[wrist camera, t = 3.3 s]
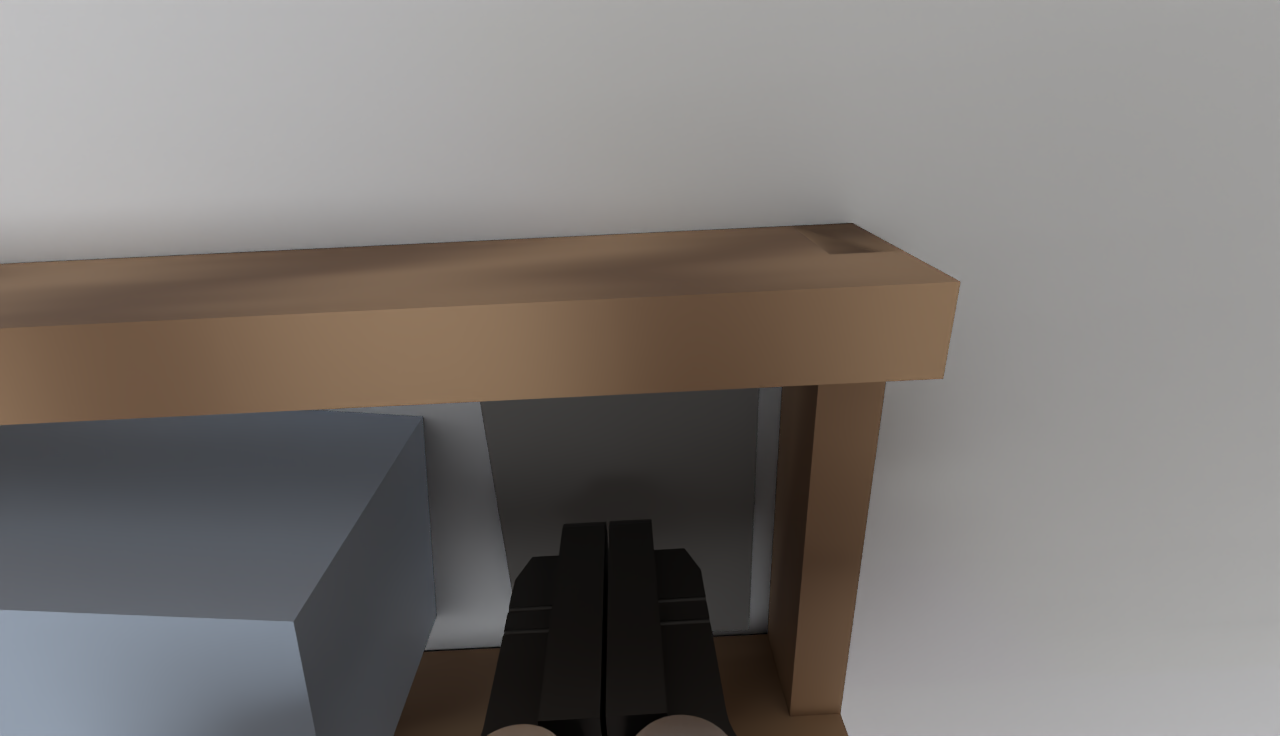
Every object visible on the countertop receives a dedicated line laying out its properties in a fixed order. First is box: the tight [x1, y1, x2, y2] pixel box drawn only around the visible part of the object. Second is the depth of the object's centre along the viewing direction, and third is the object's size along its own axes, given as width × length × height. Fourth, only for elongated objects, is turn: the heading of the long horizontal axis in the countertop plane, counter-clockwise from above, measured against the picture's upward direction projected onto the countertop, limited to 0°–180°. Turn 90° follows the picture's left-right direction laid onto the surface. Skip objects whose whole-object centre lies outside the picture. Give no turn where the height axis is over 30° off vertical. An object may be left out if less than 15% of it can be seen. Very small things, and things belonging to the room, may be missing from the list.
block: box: [0, 410, 437, 736], centre depth 10 cm, size 8×5×5 cm, turn 85°
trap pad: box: [480, 388, 759, 632], centre depth 12 cm, size 5×7×1 cm
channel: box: [0, 223, 960, 736], centre depth 10 cm, size 19×10×4 cm, turn 92°
